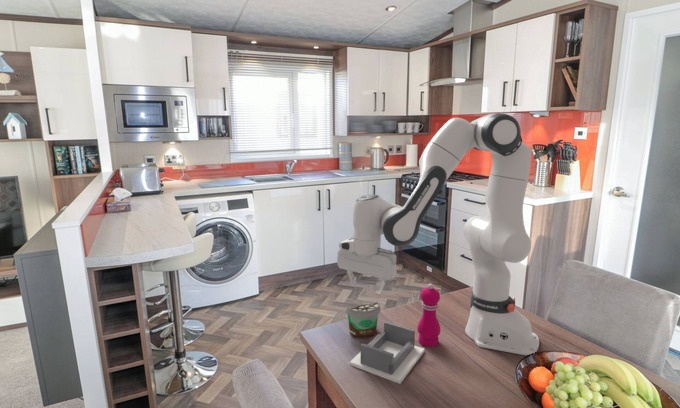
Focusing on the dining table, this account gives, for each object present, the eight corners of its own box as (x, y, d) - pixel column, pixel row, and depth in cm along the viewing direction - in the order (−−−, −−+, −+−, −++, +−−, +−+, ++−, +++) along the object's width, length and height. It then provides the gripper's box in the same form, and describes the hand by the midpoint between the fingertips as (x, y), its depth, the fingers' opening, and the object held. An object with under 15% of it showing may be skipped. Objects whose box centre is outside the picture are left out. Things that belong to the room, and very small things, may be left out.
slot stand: (424, 351, 121) (425, 331, 120) (400, 384, 106) (400, 361, 105) (378, 336, 130) (378, 317, 128) (350, 364, 115) (349, 343, 113)
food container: (353, 343, 126) (353, 315, 124) (345, 334, 131) (345, 306, 129) (387, 335, 131) (387, 307, 129) (378, 326, 136) (378, 299, 134)
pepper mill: (440, 349, 122) (443, 289, 118) (416, 346, 124) (418, 287, 120) (439, 336, 129) (442, 280, 125) (417, 334, 131) (419, 278, 127)
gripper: (400, 248, 122) (399, 290, 124) (345, 237, 132) (344, 276, 135) (392, 254, 116) (390, 297, 119) (334, 242, 127) (334, 282, 130)
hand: (365, 286), depth 127 cm, fingers open, 8 cm apart
